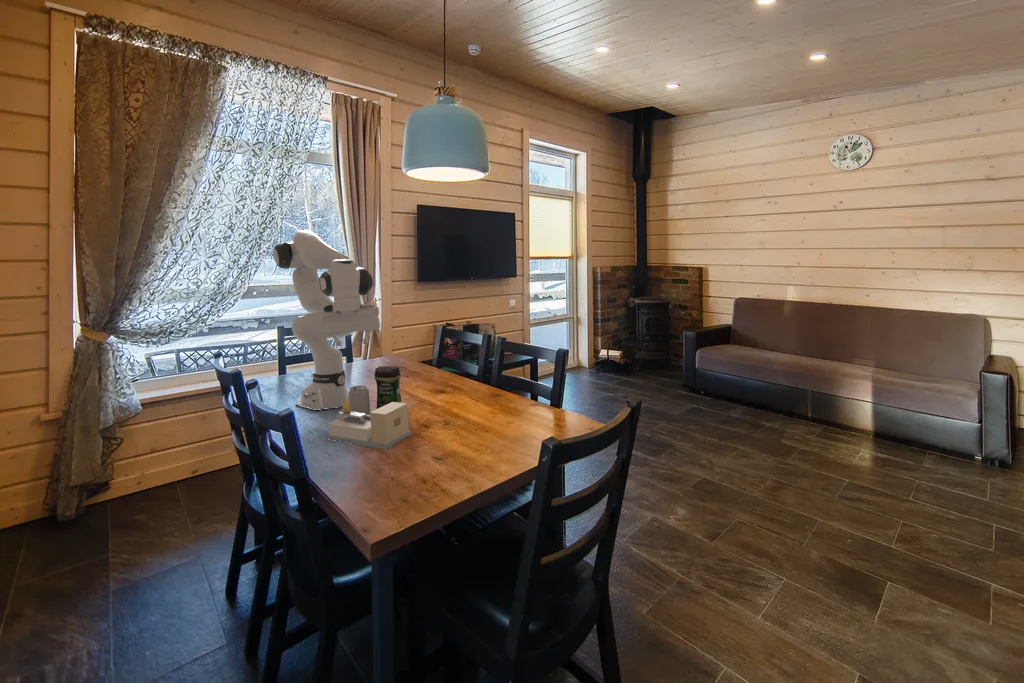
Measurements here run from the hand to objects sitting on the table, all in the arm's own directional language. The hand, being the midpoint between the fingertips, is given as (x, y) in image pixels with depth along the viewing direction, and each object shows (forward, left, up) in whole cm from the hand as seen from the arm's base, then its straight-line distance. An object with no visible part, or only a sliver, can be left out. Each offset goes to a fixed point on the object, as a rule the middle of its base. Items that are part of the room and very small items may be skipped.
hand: (352, 344), depth 173 cm
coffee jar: (+1, +17, -31) cm, 35 cm away
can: (-6, +8, -31) cm, 32 cm away
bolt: (+4, -8, -24) cm, 26 cm away
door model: (+11, -8, -30) cm, 33 cm away
